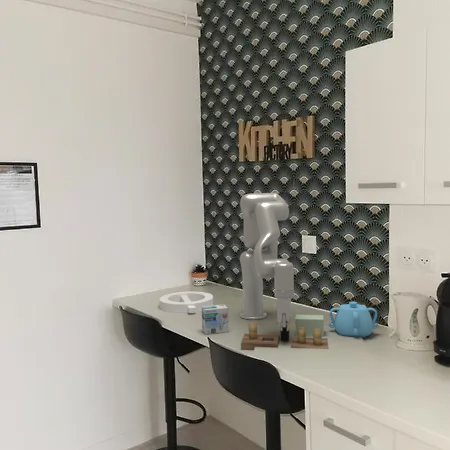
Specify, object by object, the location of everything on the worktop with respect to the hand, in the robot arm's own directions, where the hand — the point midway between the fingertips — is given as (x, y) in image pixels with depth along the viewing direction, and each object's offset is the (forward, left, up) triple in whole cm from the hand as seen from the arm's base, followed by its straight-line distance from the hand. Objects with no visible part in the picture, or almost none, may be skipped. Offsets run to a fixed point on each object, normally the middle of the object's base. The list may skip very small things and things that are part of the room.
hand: (285, 338), depth 194 cm
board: (+3, +9, -2) cm, 10 cm away
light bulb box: (-13, -31, -2) cm, 33 cm away
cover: (-9, +10, -2) cm, 14 cm away
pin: (0, 0, -2) cm, 2 cm away
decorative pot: (-13, +27, -2) cm, 30 cm away
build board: (+3, -10, -2) cm, 10 cm away
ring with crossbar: (-55, -54, -2) cm, 77 cm away
